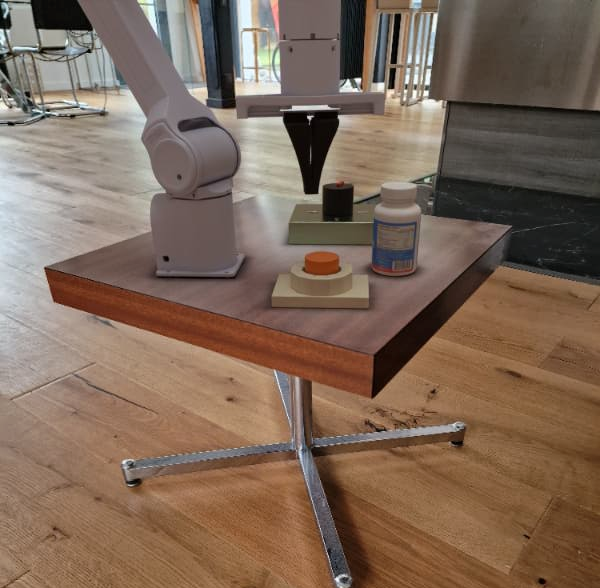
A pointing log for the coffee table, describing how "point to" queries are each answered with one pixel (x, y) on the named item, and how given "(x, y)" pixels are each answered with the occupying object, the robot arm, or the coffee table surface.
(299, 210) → the panel
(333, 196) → the dial
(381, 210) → the pill bottle
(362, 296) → the switch block
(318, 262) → the button
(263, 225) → the coffee table surface
